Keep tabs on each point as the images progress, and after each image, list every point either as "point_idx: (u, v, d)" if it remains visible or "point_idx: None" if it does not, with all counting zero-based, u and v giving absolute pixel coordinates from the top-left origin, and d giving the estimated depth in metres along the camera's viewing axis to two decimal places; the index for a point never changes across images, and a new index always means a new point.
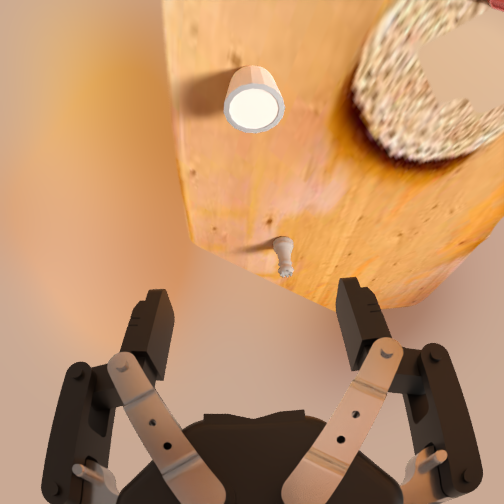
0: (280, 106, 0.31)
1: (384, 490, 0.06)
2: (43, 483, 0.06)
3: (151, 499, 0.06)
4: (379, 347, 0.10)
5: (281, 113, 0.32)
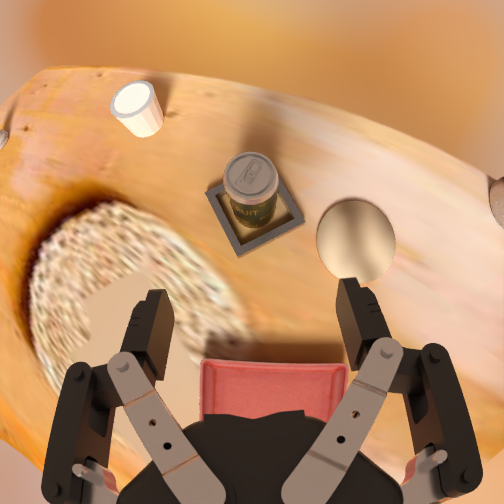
0: (125, 115, 0.36)
1: (384, 490, 0.06)
2: (43, 483, 0.06)
3: (151, 499, 0.06)
4: (379, 347, 0.10)
5: (118, 115, 0.36)
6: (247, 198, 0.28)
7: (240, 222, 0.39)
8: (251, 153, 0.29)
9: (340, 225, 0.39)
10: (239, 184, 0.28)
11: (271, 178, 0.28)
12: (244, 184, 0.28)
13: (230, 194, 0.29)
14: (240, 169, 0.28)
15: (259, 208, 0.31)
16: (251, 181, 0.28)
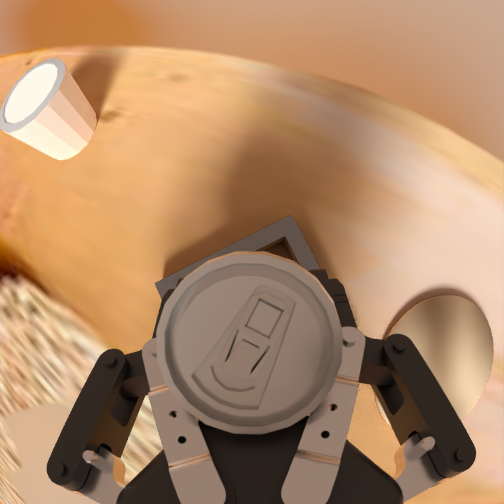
0: (12, 126, 0.15)
1: (380, 488, 0.06)
2: (50, 460, 0.06)
3: (151, 499, 0.06)
4: None
5: (5, 128, 0.15)
6: (237, 430, 0.07)
7: None
8: (253, 261, 0.08)
9: (419, 346, 0.18)
10: (210, 379, 0.08)
11: (322, 355, 0.08)
12: (228, 378, 0.08)
13: None
14: (213, 325, 0.08)
15: None
16: (252, 373, 0.08)
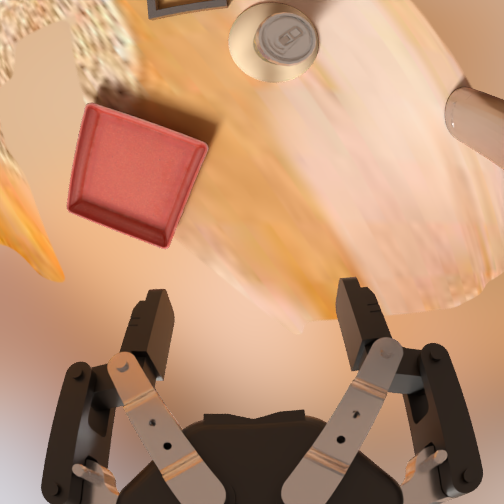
0: None
1: (384, 490, 0.06)
2: (43, 483, 0.06)
3: (151, 499, 0.06)
4: (379, 347, 0.10)
5: None
6: (273, 59, 0.22)
7: None
8: (299, 17, 0.20)
9: None
10: (272, 42, 0.21)
11: (306, 50, 0.22)
12: (277, 44, 0.22)
13: (258, 46, 0.22)
14: (280, 28, 0.20)
15: None
16: (285, 45, 0.21)
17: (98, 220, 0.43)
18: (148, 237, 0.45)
